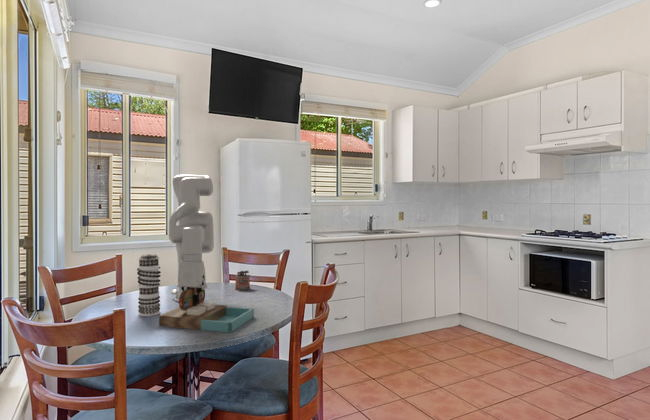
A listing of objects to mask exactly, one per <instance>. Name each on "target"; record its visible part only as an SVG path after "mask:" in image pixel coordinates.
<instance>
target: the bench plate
mask: <svg viewBox="0 0 650 420" xmlns="http://www.w3.org/2000/svg"><path fill="white" fill-rule="evenodd" d="M226 307H228V305H222V304H215V308H213V309H211V310H208V311H206V310H205V312H204V313H202V314H200V315H187V311H183V310H181V309H180V307H179V306H178V307H175V308H173V309H170V310H168V311H165V312H164V313H161V314H158V327H164V328H165V327H168V328H178V329H179V328H180V329H188V330H189V329H190V330H199V331H202V330H201V320H213V321H216V320H218V319H220V318H222V317H223V316H225V315H226Z"/></svg>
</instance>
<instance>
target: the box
mask: <svg viewBox="0 0 650 420" xmlns="http://www.w3.org/2000/svg"><path fill="white" fill-rule="evenodd" d="M254 314H255V312H254V308H246V307H234V306H233V307H232V306H227V307H226V315H225V316H223V317H222V318H220V319H218V320H216V321H213V320H201V330H200V331H211V332H223V333H232V332H234V331H235V330H236V329H238V328H239V327H241V326H243V325H244V324H246V323H247V322H248V321H250V320H252V319H254V316H255V315H254Z"/></svg>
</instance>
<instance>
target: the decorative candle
mask: <svg viewBox="0 0 650 420" xmlns="http://www.w3.org/2000/svg"><path fill="white" fill-rule="evenodd" d="M159 259H160V257H159V256H158V255H157V254H156V253H145V254H142V255H141V256H140V257H139V258H138V268H136V271H137V272H136V273H137V275H138V276H137V280H138V281H137V283H138V286H137V287H138V288H139V291H138V298H137V300H138V306H137V308H138V309H137V311H138V316H140V317H152V316H153V317H154V316H157V315H160V313H161V311H160V310H161V303H160V302H161V300H160V298H161V295H160V288H159V287H160V285H161V283H160V282H161V279H160V278H161V275H160V274H161V273H162V272H161V270H160V269H161V266H160V264H159Z"/></svg>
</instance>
